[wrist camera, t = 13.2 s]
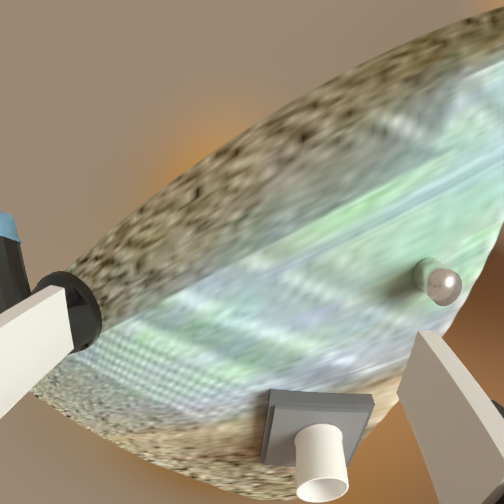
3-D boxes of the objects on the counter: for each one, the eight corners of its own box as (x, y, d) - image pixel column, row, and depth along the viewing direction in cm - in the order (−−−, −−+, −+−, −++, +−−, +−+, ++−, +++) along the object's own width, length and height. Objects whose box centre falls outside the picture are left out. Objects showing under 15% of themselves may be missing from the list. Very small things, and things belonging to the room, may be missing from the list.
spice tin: (410, 287, 44) (427, 305, 38) (417, 255, 43) (436, 269, 36) (436, 289, 44) (456, 306, 37) (443, 259, 43) (465, 272, 36)
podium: (260, 452, 55) (259, 466, 52) (270, 388, 51) (269, 403, 47) (346, 456, 54) (348, 470, 50) (371, 394, 50) (375, 408, 46)
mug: (319, 465, 50) (322, 514, 39) (279, 456, 50) (276, 506, 39) (351, 428, 47) (361, 480, 36) (307, 418, 47) (310, 472, 36)
